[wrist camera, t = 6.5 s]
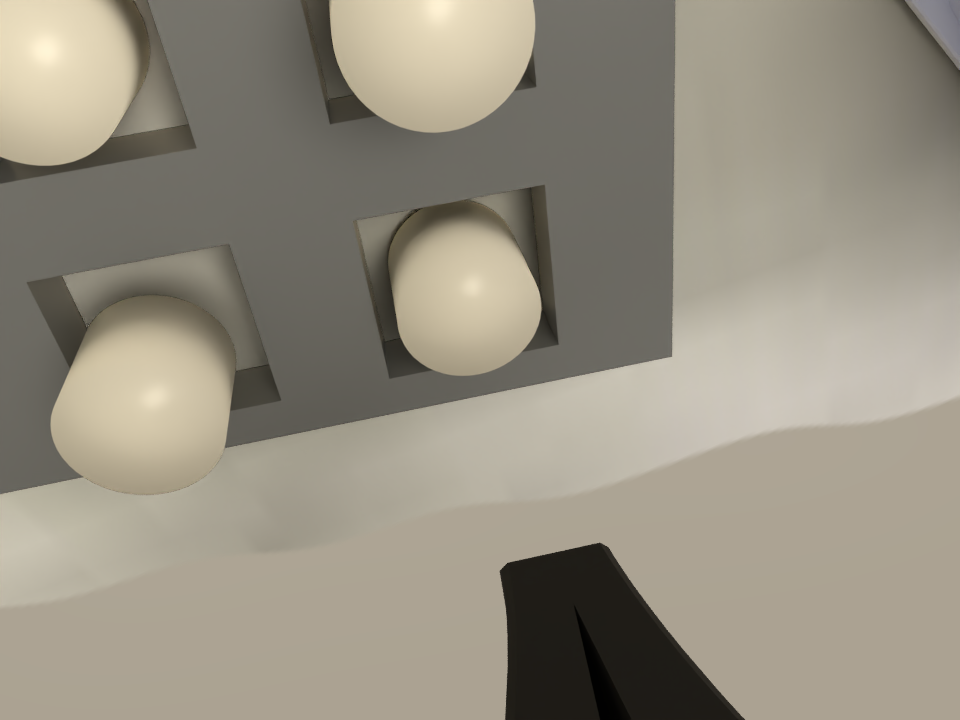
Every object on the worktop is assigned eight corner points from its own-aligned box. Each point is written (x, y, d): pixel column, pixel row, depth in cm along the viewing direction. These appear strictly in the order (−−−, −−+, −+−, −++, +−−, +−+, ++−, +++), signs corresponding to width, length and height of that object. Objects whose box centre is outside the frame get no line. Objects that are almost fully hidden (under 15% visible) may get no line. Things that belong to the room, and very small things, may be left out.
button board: (644, -252, 14) (677, -258, 13) (649, 322, 21) (671, 356, 20) (-307, -106, 13) (-374, -97, 12) (20, 449, 20) (0, 494, 19)
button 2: (114, -65, 14) (80, -44, 12) (171, 105, 16) (151, 148, 14) (-62, -37, 14) (-125, -11, 12) (16, 132, 16) (-28, 180, 14)
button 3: (509, 188, 18) (534, 236, 16) (522, 303, 20) (546, 360, 18) (376, 213, 18) (384, 265, 16) (400, 327, 20) (411, 388, 18)
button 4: (492, -115, 13) (525, -101, 11) (511, 72, 15) (543, 114, 13) (308, -85, 13) (308, -65, 11) (349, 101, 15) (355, 148, 13)
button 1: (211, 281, 16) (196, 350, 14) (253, 400, 18) (246, 476, 16) (57, 310, 16) (20, 384, 14) (115, 428, 18) (89, 508, 16)
